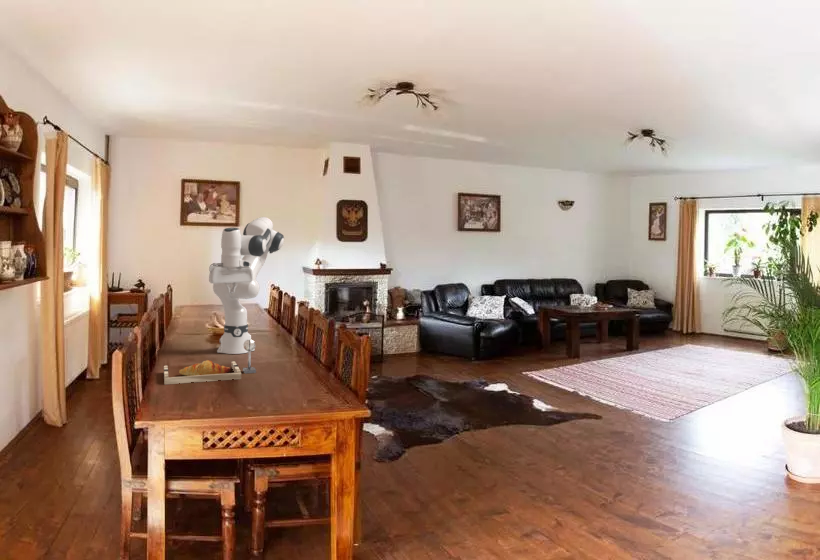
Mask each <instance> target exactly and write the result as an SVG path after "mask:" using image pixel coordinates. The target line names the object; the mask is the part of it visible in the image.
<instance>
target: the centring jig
mask: <svg viewBox="0 0 820 560" xmlns="http://www.w3.org/2000/svg"><path fill="white" fill-rule="evenodd" d="M168 367H169V366H168V365H164V366H163V379H164V380H163V381H164V382H163V383H164V384H163V385H176V384H177V385H178V384H179V383H180V384H192V383H191V382H194V383H204V382H206V381H207V382H218V380H221V381H233V380H232V379H234V380H242V372H241V369H240V368H239V365H238V364H237V363H236V361H231V369H233V370H232V371H234V372H227V373H225V374H211V375H196V376H185V375H182V376H171V377H170V376H169V368H168Z"/></svg>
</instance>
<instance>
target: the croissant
mask: <svg viewBox="0 0 820 560" xmlns="http://www.w3.org/2000/svg"><path fill="white" fill-rule="evenodd" d="M230 371H231V367H229V366H228V367H227V366H225V365H220V364H219V363H216V362H215V363H214V362H213V361H212V360H209V359H206V360H203V361H202V362H201V363H199V362H197V363H193V364H192V365H189V366H185V367H183V368H182V369H179V371H178V373H179V374H180V375H182V376H196V375H211V374H225V373H230Z"/></svg>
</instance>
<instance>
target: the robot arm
mask: <svg viewBox="0 0 820 560" xmlns="http://www.w3.org/2000/svg"><path fill="white" fill-rule="evenodd" d="M273 228H274V222H273V221H272V220H271V219H270V218H268V217H267V216H261V217H257V218H255V219H253V220H252V221H250V222H248V223H247V224H246V225H245V226H244V229H243V232H242V234H241V230H240V228H238V227H225V228H224V229H223V230H222V233H221V238H220V241H221V243H220V245H221V256H220V257H221V258H220V262H213V263H212V264H210V265H209V269H208V270H209V275H208V281H209V283H210V284H213V285H212V289H213V293H214V294H215V296H217V298H218V299H220V302H221V304H222V305H223V310H224V325H223V332H224V333H223V335H221V336H220V338H219V347H218V348H217V350H216V352H217V353H220V354H227V355H228V354H229V355H232V354H233V355H234V354H235V355H238V354H240V355H241V354H248V351H247V350H245V349H244V346H243V345H244V342H245V341H246V340H252V335H251V334H250V333H249V324H248V310H247V308H246V307H245V306H243V305H242V303H241V301H240V299H243V300H249V299H254V298H256V297H257V296H258V295H259V293H260V284H259V281H257V277H258V275H259V273H260V271H261V269H262V268H263V266H264V264H265V262H266V260H267V257H268V254H273V253H276V252H278V251H280V250H281V248H282V247H283V246H284V244H285V243H284V242H285V237H284V235H283V234H282V233H281V232H279V231H276V230H275V229H273ZM242 256H243V257H242ZM253 351H255V348H254V349H253V350H252V351H251V352H253Z"/></svg>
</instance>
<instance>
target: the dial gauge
mask: <svg viewBox="0 0 820 560" xmlns="http://www.w3.org/2000/svg"><path fill="white" fill-rule="evenodd" d="M243 346H244V349H245V350H247V351H248V352H247V367H242V373H243V374H244V373H245V374H256V373H257V368H255V367H254V366H251V365H252V364H251V362H252V360H251V359H252V358H251V357H252V356H251V355H252V352H253V351H252V350H253V349H255V348H256V342H255V341H254V340H253V339H251V340H246V341H245V342H244V345H243Z"/></svg>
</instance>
